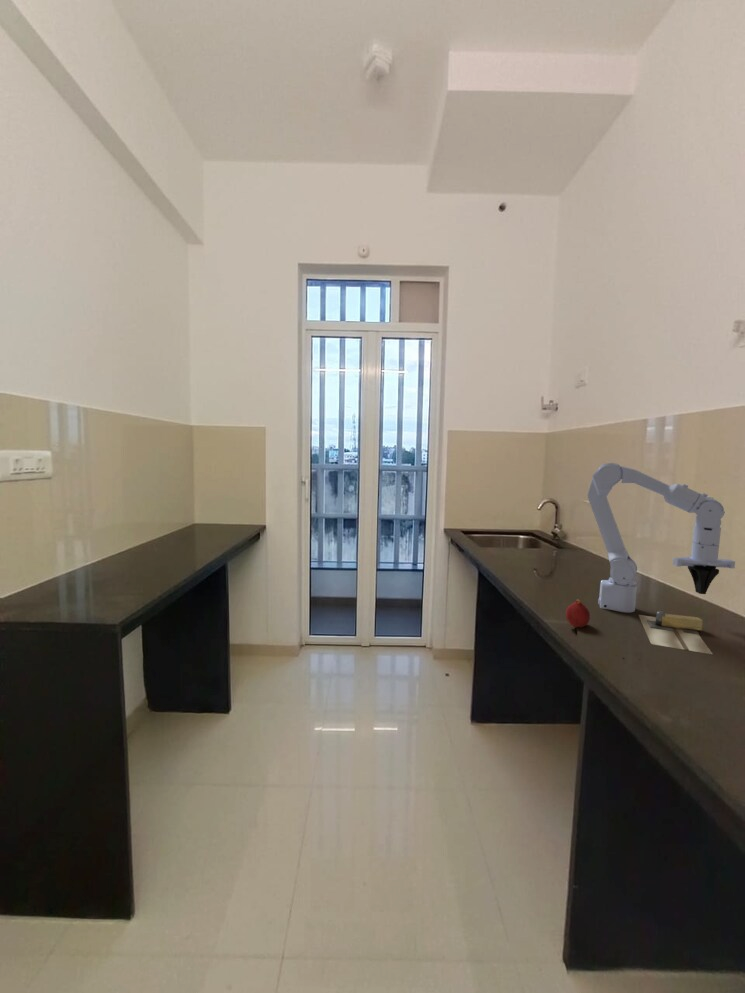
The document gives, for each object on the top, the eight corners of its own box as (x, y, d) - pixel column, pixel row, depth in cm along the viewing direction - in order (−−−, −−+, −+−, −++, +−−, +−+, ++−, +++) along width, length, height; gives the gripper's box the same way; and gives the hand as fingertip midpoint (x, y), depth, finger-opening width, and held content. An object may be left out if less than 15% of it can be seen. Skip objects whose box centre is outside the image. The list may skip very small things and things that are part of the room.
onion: (569, 622, 119) (571, 594, 118) (592, 629, 115) (594, 599, 114) (561, 628, 115) (563, 599, 114) (583, 635, 111) (586, 605, 110)
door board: (650, 648, 104) (651, 642, 104) (638, 618, 123) (638, 613, 123) (712, 659, 99) (713, 653, 99) (689, 626, 118) (689, 621, 118)
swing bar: (657, 625, 114) (658, 613, 114) (654, 622, 116) (655, 610, 116) (701, 630, 111) (703, 618, 111) (697, 627, 113) (698, 614, 113)
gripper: (686, 545, 112) (681, 596, 114) (746, 547, 111) (740, 599, 113) (670, 540, 119) (665, 588, 121) (725, 542, 118) (720, 590, 120)
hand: (700, 592), depth 117 cm, fingers closed
